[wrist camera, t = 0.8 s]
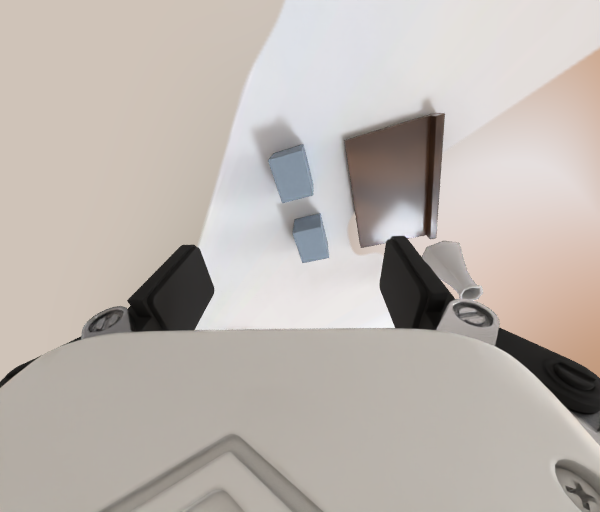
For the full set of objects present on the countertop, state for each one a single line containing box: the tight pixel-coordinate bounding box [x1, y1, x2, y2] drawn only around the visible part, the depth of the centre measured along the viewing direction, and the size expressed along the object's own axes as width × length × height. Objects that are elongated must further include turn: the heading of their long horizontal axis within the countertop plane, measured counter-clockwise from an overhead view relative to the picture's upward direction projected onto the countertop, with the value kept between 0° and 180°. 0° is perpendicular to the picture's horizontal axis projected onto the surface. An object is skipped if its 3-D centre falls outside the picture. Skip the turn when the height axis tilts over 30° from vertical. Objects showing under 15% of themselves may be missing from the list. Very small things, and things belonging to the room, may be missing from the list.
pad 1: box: [268, 145, 313, 203], centre depth 32 cm, size 6×5×5 cm
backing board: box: [344, 113, 445, 248], centre depth 34 cm, size 18×12×2 cm, turn 16°
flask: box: [422, 241, 483, 301], centre depth 37 cm, size 7×7×10 cm
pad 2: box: [293, 214, 329, 263], centre depth 38 cm, size 6×5×5 cm
